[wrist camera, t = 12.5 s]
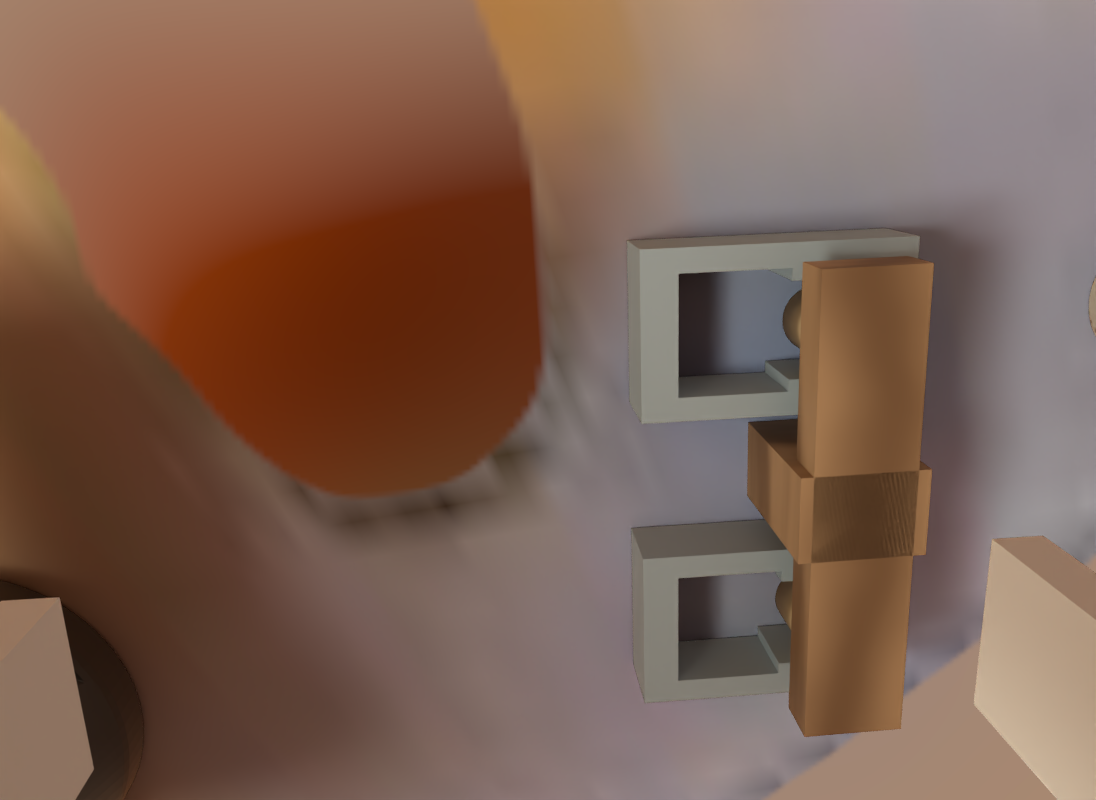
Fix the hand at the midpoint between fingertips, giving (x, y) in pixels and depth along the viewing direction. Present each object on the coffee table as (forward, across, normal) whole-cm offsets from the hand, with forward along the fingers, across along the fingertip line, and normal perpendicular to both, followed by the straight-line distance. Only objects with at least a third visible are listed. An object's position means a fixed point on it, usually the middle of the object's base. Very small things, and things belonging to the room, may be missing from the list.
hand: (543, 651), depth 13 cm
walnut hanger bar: (+27, +13, -7) cm, 31 cm away
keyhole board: (+26, +11, -7) cm, 30 cm away
